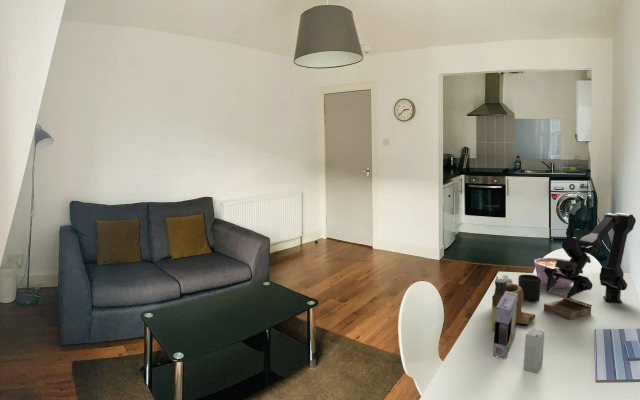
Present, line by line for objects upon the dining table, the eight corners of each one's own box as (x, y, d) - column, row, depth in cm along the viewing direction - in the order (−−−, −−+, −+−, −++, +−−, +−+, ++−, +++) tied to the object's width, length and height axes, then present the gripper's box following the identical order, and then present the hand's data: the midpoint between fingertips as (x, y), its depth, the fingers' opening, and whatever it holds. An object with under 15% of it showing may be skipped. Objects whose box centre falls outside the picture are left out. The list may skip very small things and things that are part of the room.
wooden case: (564, 305, 195) (564, 298, 195) (590, 314, 185) (591, 307, 184) (543, 310, 190) (543, 303, 190) (569, 320, 179) (570, 313, 179)
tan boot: (489, 322, 178) (490, 286, 176) (496, 313, 188) (497, 278, 186) (531, 330, 170) (532, 292, 168) (535, 320, 180) (537, 284, 178)
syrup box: (512, 312, 188) (513, 279, 186) (497, 311, 189) (498, 278, 187) (509, 307, 194) (510, 275, 192) (494, 307, 195) (495, 274, 193)
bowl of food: (527, 279, 233) (528, 257, 232) (568, 280, 230) (569, 258, 229) (541, 291, 214) (542, 268, 212) (585, 292, 211) (587, 269, 209)
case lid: (564, 298, 195) (565, 295, 195) (591, 307, 184) (592, 303, 184) (545, 292, 189) (546, 289, 189) (572, 301, 179) (573, 297, 179)
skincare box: (528, 362, 146) (529, 327, 144) (543, 366, 143) (545, 330, 141) (522, 370, 141) (524, 333, 140) (538, 374, 138) (539, 337, 137)
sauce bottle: (509, 329, 172) (510, 279, 169) (510, 335, 166) (512, 284, 163) (490, 327, 174) (492, 277, 171) (491, 333, 168) (493, 282, 166)
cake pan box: (507, 361, 147) (509, 309, 145) (491, 357, 150) (492, 306, 147) (516, 339, 163) (518, 292, 161) (501, 336, 166) (503, 290, 164)
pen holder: (544, 299, 203) (545, 278, 202) (533, 303, 198) (534, 281, 197) (524, 293, 211) (525, 273, 210) (513, 298, 206) (514, 276, 204)
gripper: (547, 248, 192) (528, 276, 188) (589, 257, 175) (569, 289, 172) (559, 263, 196) (540, 291, 193) (601, 274, 179) (581, 305, 176)
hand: (556, 294), depth 183 cm, fingers open, 9 cm apart
